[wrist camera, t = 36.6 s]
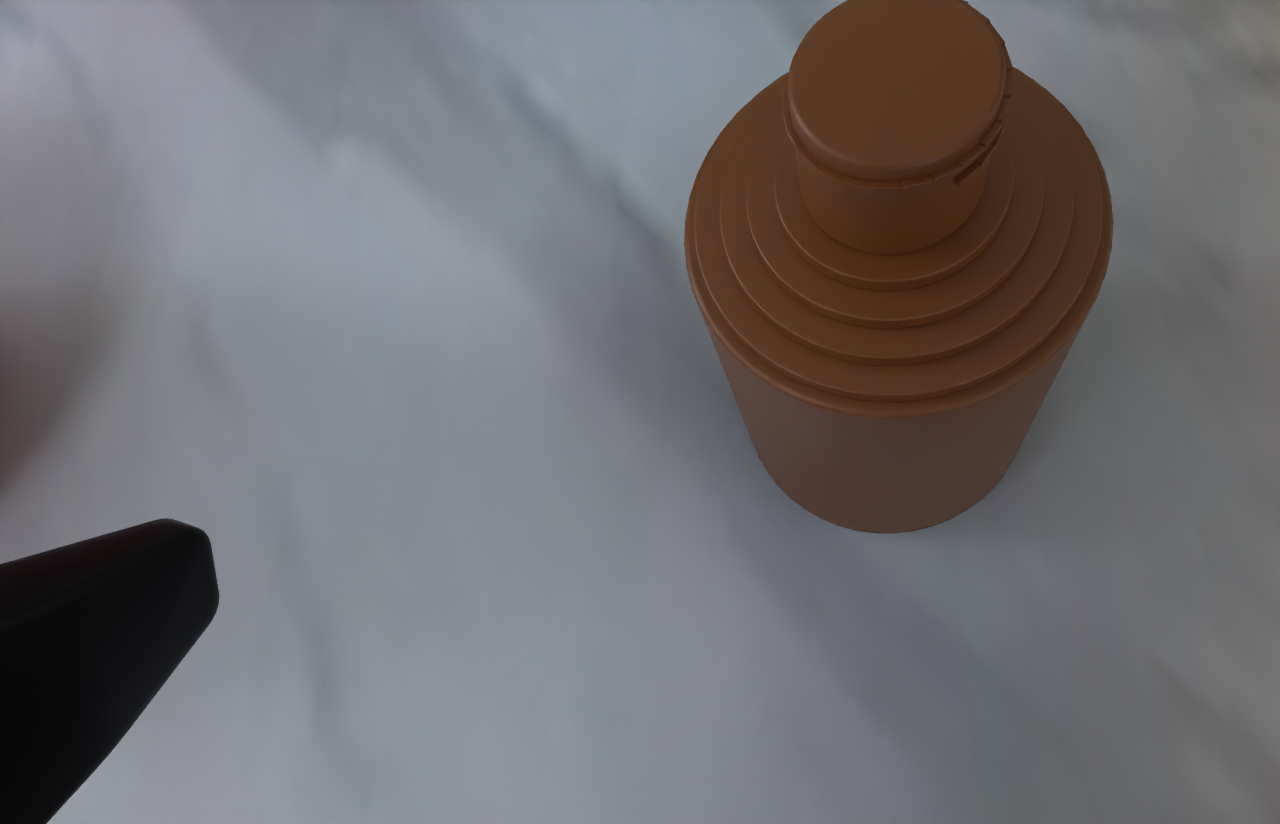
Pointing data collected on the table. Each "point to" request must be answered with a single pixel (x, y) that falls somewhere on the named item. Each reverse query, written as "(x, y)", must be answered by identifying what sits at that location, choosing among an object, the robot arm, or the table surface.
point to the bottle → (896, 261)
